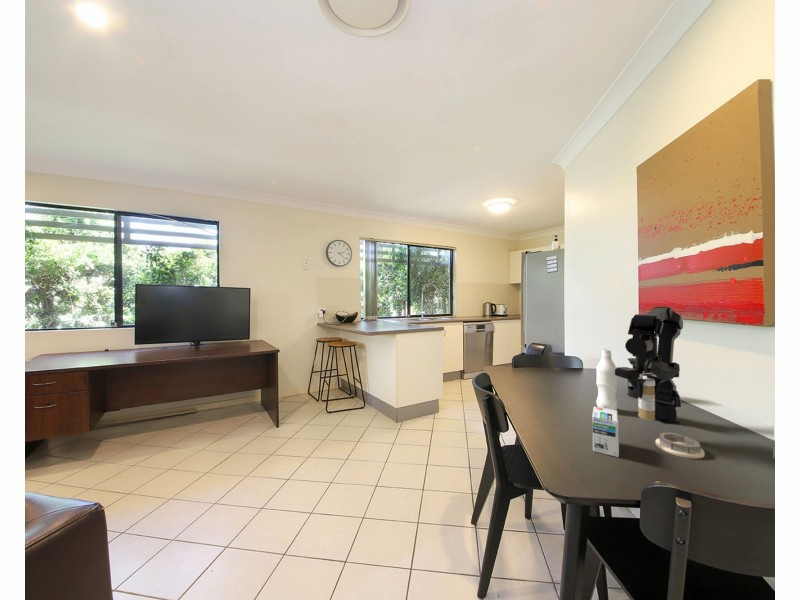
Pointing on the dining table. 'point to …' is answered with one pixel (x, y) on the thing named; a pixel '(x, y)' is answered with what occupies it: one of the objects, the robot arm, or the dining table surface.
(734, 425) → the dining table surface
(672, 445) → the collar socket
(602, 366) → the water bottle
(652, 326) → the robot arm
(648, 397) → the sprinkles bottle
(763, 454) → the dining table surface
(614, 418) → the light bulb box
